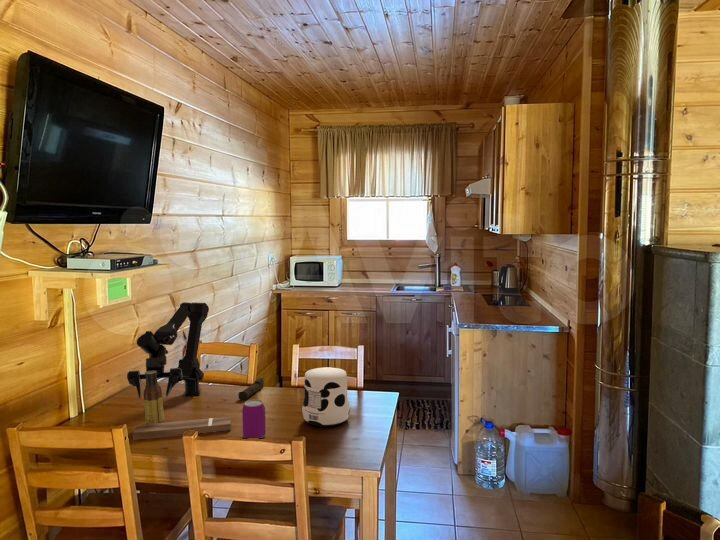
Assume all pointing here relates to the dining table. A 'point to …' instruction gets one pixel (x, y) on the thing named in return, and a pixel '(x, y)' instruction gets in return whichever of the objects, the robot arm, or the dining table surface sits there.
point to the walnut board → (181, 427)
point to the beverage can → (254, 419)
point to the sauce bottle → (153, 399)
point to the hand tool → (251, 389)
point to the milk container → (325, 397)
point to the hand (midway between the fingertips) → (153, 397)
